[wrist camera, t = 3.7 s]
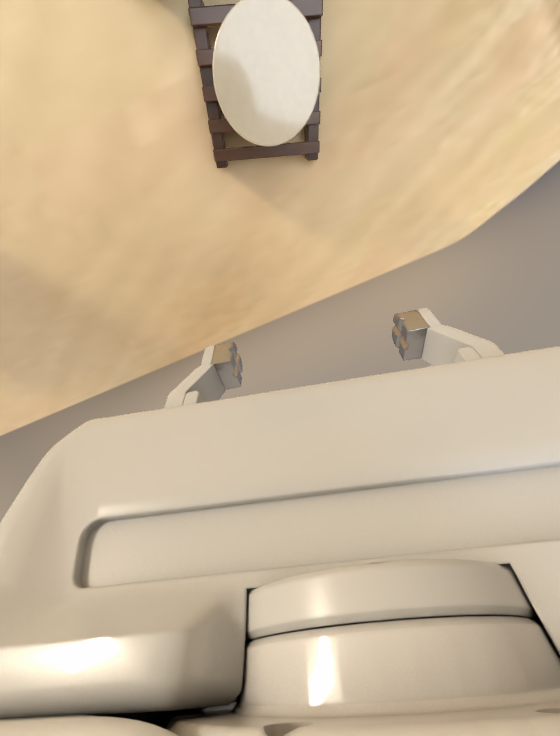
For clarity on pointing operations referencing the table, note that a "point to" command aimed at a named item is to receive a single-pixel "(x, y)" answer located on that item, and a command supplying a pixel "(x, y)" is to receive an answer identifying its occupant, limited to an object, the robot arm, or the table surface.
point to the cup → (266, 70)
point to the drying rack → (201, 19)
